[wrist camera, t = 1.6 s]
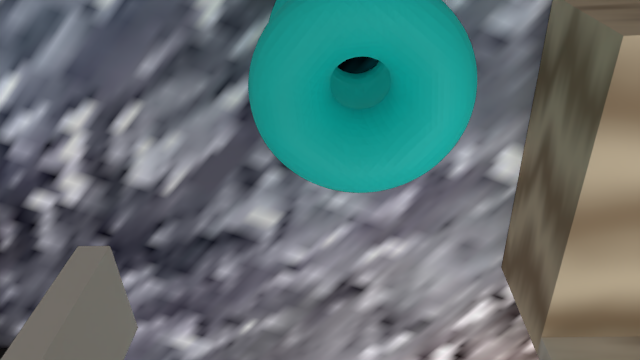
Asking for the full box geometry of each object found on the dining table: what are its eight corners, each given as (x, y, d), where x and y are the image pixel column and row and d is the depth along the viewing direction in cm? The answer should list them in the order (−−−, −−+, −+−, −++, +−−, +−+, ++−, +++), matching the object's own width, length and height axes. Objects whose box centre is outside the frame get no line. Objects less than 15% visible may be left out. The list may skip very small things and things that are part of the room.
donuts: (350, -83, 17) (536, 91, 21) (345, -100, 26) (477, 25, 29) (198, 120, 22) (371, 239, 25) (237, 49, 30) (362, 143, 33)
